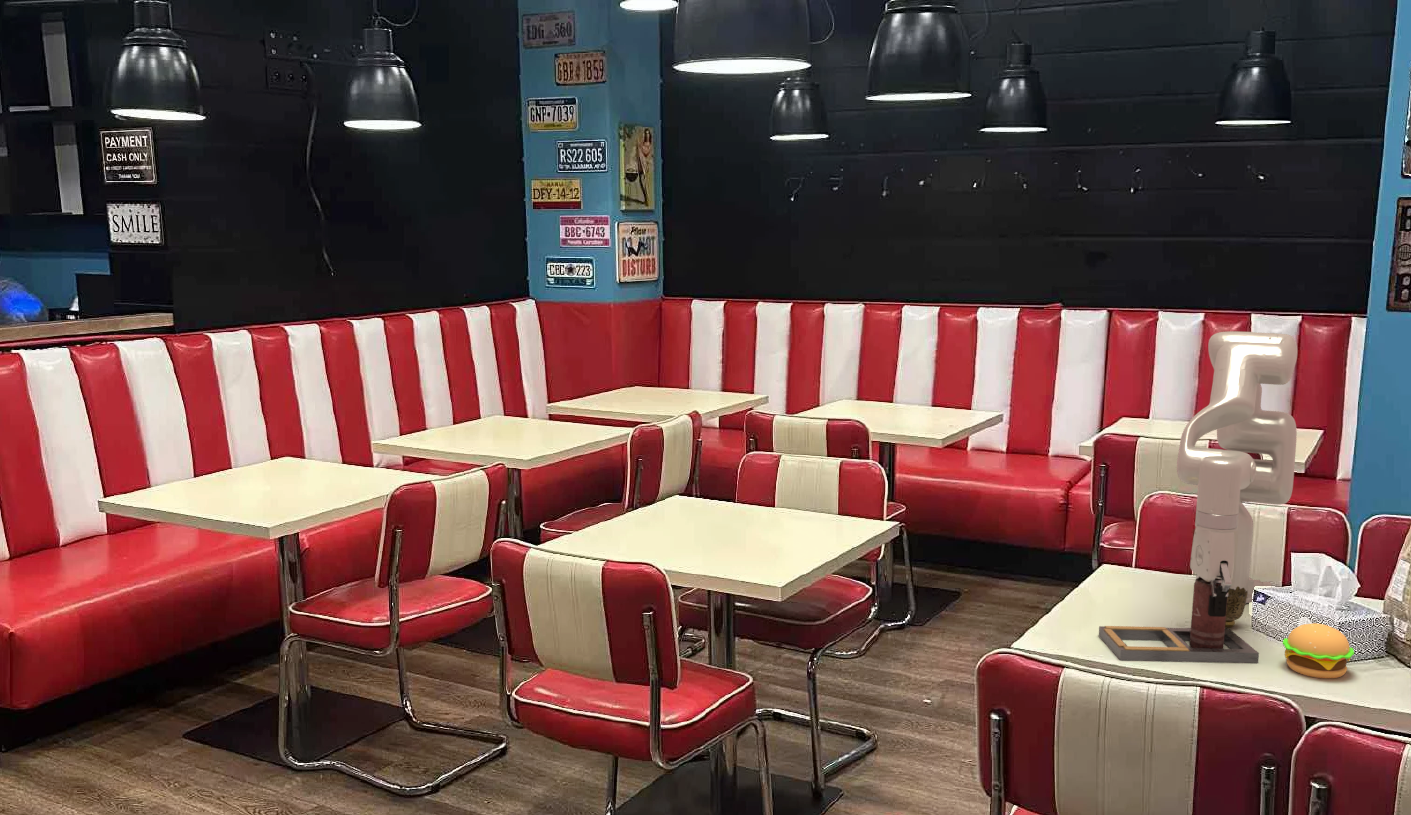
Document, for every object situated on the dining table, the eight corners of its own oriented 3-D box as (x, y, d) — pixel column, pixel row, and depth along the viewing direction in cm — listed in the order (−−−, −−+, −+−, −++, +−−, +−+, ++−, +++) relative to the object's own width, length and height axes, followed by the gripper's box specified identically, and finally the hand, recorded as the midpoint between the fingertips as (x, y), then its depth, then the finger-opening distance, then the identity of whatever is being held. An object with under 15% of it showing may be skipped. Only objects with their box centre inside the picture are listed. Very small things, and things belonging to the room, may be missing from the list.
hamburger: (1268, 667, 229) (1272, 623, 228) (1300, 654, 237) (1303, 611, 235) (1333, 687, 220) (1337, 641, 219) (1363, 672, 227) (1368, 628, 226)
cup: (1250, 625, 253) (1253, 588, 252) (1237, 634, 248) (1240, 596, 247) (1214, 617, 258) (1216, 581, 257) (1200, 625, 253) (1203, 588, 252)
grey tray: (1228, 638, 245) (1229, 627, 245) (1258, 663, 231) (1258, 652, 231) (1098, 635, 246) (1099, 625, 246) (1120, 660, 232) (1120, 649, 232)
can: (1207, 657, 234) (1213, 586, 232) (1182, 646, 240) (1187, 577, 238) (1231, 653, 237) (1236, 583, 235) (1205, 642, 243) (1211, 574, 240)
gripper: (1180, 509, 243) (1174, 596, 246) (1214, 531, 226) (1207, 624, 229) (1218, 510, 243) (1212, 597, 246) (1255, 531, 226) (1247, 625, 229)
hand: (1209, 609), depth 237 cm, fingers closed on can, 6 cm apart
